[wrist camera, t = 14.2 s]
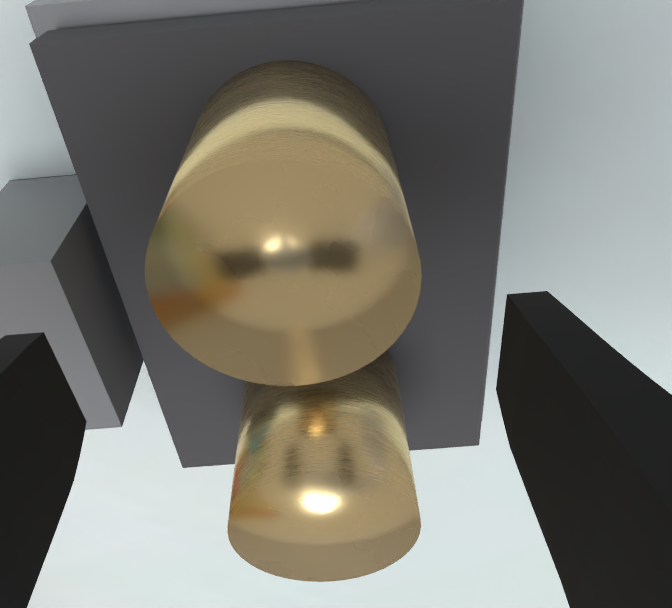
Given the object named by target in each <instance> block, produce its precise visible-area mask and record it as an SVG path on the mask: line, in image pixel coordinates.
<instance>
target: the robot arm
mask: <svg viewBox="0 0 672 608" xmlns="http://www.w3.org/2000/svg"><path fill="white" fill-rule="evenodd" d="M496 391H497V395H498V400H499V404H500V408H501V413H502V417H503V421H504V425H505V429H506V433H507V437H508V441H509V445H510V448H511V451H512V454H513V456H514V459H515V462H516V464H517V467H518V470H519V472H520V475H521V478H522V480H523V483H524V486H525V488H526V491H527V494H528V496H529V499H530V501H531V504H532V507H533V509H534V512H535V514H536V517H537V520H538V522H539V525H540V527H541V530H542V533H543V535H544V538H545V541H546V543H547V546H548V548H549V551H550V554H551V556H552V559H553V561H554V564H555V567H556V569H557V572H558V574H559V577H560V580H561V583H562V586H563V589H564V592H565V594H566V597H567V600H568V603H569V606H570V608H672V395H671V394H670V393H668V392H667V391H666V390H665V389H663V388H662V387H661V386H659V385H658V384H657V383H655V382H654V381H653V380H652V379H650V378H649V377H648V376H647V375H645V374H644V373H643V372H642V371H640V370H639V369H638V368H637V367H636V366H634V365H633V364H632V363H631V362H629V361H628V360H627V359H626V358H625V357H623V356H622V355H621V354H620V353H619V352H617V351H616V350H615V349H614V348H613V347H611V346H610V345H609V344H608V343H607V342H606V341H604V340H603V339H602V338H601V337H600V336H599V335H597V334H596V333H595V332H594V331H593V330H592V329H590V328H589V327H588V326H587V325H586V324H585V323H583V322H582V321H581V320H580V319H579V318H578V317H577V316H575V315H574V314H573V313H572V312H571V311H570V310H569V309H567V308H566V307H565V306H564V305H563V304H562V303H561V302H559V301H558V300H557V299H556V298H555V297H553V296H552V295H551V294H550V293H549V292H547V291H543V292H531V293H519V294H507V299H506V308H505V317H504V325H503V334H502V343H501V351H500V360H499V369H498V378H497V386H496ZM86 422H87V421H86V419H85V417H84V415H83V413H82V411H81V409H80V407H79V405H78V402H77V400H76V398H75V396H74V394H73V392H72V390H71V388H70V386H69V384H68V382H67V379H66V377H65V375H64V373H63V371H62V369H61V367H60V365H59V363H58V361H57V359H56V356H55V354H54V352H53V350H52V348H51V346H50V344H49V342H48V340H47V338H46V336H45V333H44V332H40V333H27V334H15V335H5V336H4V337H2V338H1V339H0V608H27V605H28V603H29V600H30V597H31V595H32V592H33V589H34V587H35V584H36V581H37V579H38V576H39V573H40V571H41V568H42V566H43V563H44V560H45V558H46V555H47V552H48V550H49V547H50V544H51V542H52V539H53V536H54V534H55V531H56V528H57V526H58V523H59V520H60V517H61V515H62V512H63V509H64V506H65V504H66V501H67V498H68V495H69V493H70V490H71V487H72V484H73V481H74V477H75V473H76V469H77V465H78V461H79V457H80V452H81V447H82V442H83V437H84V432H85V427H86Z"/></svg>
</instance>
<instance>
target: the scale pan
mask: <svg viewBox="0 0 672 608" xmlns="http://www.w3.org/2000/svg"><path fill="white" fill-rule="evenodd" d="M522 4H523V0H376V1H365V2H354V3H343V4H332V5H321V6H311V7H300V8H289V9H278V10H267V11H256V12H245V13H234V14H223V15H212V16H201V17H190V18H179V19H169V20H158V21H147V22H136V23H125V24H114V25H103V26H92V27H81V28H70V29H59V30H48V31H46V32H45V33H44V34H42V35H41V36H39V37H38V38H37V39H35V40H34V41H32V42H31V43H30V47H31V50H32V53H33V55H34V58H35V61H36V64H37V67H38V69H39V72H40V75H41V78H42V80H43V83H44V86H45V89H46V91H47V94H48V97H49V100H50V102H51V105H52V108H53V111H54V113H55V116H56V119H57V122H58V124H59V127H60V130H61V133H62V136H63V138H64V141H65V144H66V147H67V149H68V152H69V155H70V158H71V160H72V163H73V166H74V169H75V171H76V174H77V177H78V180H79V182H80V185H81V188H82V191H83V194H84V196H85V199H86V202H87V205H88V207H89V210H90V213H91V216H92V218H93V221H94V224H95V227H96V229H97V232H98V235H99V238H100V240H101V243H102V246H103V249H104V251H105V254H106V257H107V260H108V263H109V265H110V268H111V271H112V274H113V276H114V279H115V282H116V285H117V287H118V290H119V293H120V296H121V298H122V301H123V304H124V307H125V309H126V312H127V315H128V318H129V321H130V323H131V326H132V329H133V332H134V334H135V337H136V340H137V343H138V345H139V348H140V351H141V354H142V356H143V359H144V362H145V365H146V367H147V370H148V373H149V376H150V378H151V381H152V384H153V387H154V390H155V392H156V395H157V398H158V401H159V403H160V406H161V409H162V412H163V414H164V417H165V420H166V423H167V425H168V428H169V431H170V434H171V436H172V439H173V442H174V445H175V447H176V450H177V453H178V456H179V459H180V461H181V464H182V467H183V468H187V467H200V466H213V465H226V464H235V459H236V450H237V442H238V433H239V424H240V416H241V407H242V398H243V390H244V381H245V380H241V379H237V378H234V377H232V376H229V375H226V374H223V373H221V372H219V371H217V370H215V369H213V368H211V367H209V366H207V365H205V364H204V363H202V362H200V361H199V360H197V359H196V358H194V357H193V356H192V355H190V354H189V353H188V352H187V351H185V350H184V349H183V348H182V347H181V346H180V345H179V344H178V343H177V342H176V341H175V340H174V339H173V338H172V337H171V336H170V335H169V333H168V332H167V331H166V330H165V328H164V327H163V326H162V324H161V322H160V321H159V319H158V317H157V315H156V314H155V312H154V309H153V307H152V304H151V302H150V300H149V296H148V292H147V288H146V282H145V258H146V251H147V248H148V244H149V240H150V237H151V234H152V232H153V230H154V227H155V225H156V222H157V220H158V217H159V215H160V212H161V210H162V207H163V205H164V202H165V200H166V197H167V195H168V192H169V190H170V188H171V185H172V183H173V180H174V178H175V175H176V173H177V170H178V168H179V165H180V163H181V160H182V158H183V155H184V153H185V150H186V148H187V146H188V143H189V141H190V138H191V136H192V133H193V131H194V128H195V126H196V123H197V121H198V119H199V116H200V114H201V112H202V110H203V108H204V106H205V105H206V103H207V102H208V100H209V99H210V97H211V96H212V95H213V94H214V93H215V91H216V90H217V89H218V88H219V87H220V86H222V85H223V84H224V83H225V82H226V81H227V80H229V79H230V78H232V77H233V76H235V75H236V74H238V73H239V72H242V71H244V70H246V69H248V68H250V67H253V66H256V65H259V64H263V63H267V62H273V61H281V60H296V61H304V62H310V63H314V64H318V65H322V66H324V67H326V68H329V69H331V70H334V71H336V72H338V73H339V74H341V75H343V76H345V77H346V78H348V79H349V80H350V81H352V82H353V83H354V84H356V85H357V86H358V87H359V88H360V89H361V90H362V91H363V92H364V93H365V94H366V95H367V96H368V98H369V99H370V100H371V102H372V103H373V104H374V105H375V107H376V109H377V111H378V112H379V114H380V116H381V118H382V120H383V123H384V126H385V128H386V131H387V135H388V139H389V143H390V146H391V150H392V154H393V158H394V161H395V165H396V169H397V173H398V176H399V180H400V184H401V188H402V192H403V195H404V199H405V203H406V207H407V210H408V214H409V218H410V222H411V226H412V229H413V233H414V237H415V241H416V244H417V248H418V253H419V257H420V261H421V274H422V279H421V290H420V295H419V299H418V303H417V306H416V309H415V311H414V313H413V316H412V318H411V320H410V322H409V323H408V325H407V327H406V328H405V330H404V331H403V333H402V334H401V335H400V336H399V338H398V339H397V340H396V341H395V343H394V344H392V345H391V346H390V347H389V348H388V349H387V351H388V352H389V354H390V355H391V357H392V359H393V361H394V364H395V367H396V373H397V379H398V385H399V391H400V397H401V403H402V409H403V416H404V422H405V428H406V434H407V440H408V446H409V450H422V449H435V448H448V447H462V446H475V445H479V439H480V429H481V419H482V409H483V399H484V389H485V379H486V369H487V359H488V348H489V338H490V328H491V318H492V308H493V298H494V288H495V278H496V268H497V257H498V247H499V237H500V227H501V217H502V207H503V197H504V187H505V176H506V166H507V156H508V146H509V136H510V126H511V116H512V106H513V96H514V85H515V75H516V65H517V55H518V45H519V35H520V25H521V15H522Z"/></svg>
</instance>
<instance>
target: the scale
mask: <svg viewBox="0 0 672 608" xmlns="http://www.w3.org/2000/svg"><path fill="white" fill-rule="evenodd" d="M365 1H376V0H35V1H33V2H32V3H30V4H28V5H26V6H25V7H26V10H27V13H28V16H29V19H30V21H31V24H32V27H33V30H34V33H35V36H36V38H38V37H39V36H41V35H42V34H44V33H45V32H46V31H48V30H59V29H70V28H81V27H92V26H103V25H114V24H125V23H136V22H147V21H158V20H169V19H179V18H190V17H201V16H212V15H223V14H234V13H245V12H256V11H267V10H278V9H289V8H300V7H311V6H321V5H332V4H343V3H354V2H365ZM523 4H524V0H523ZM523 4H522V14H523ZM521 24H522V15H521ZM520 34H521V25H520ZM519 44H520V35H519ZM518 54H519V45H518ZM517 64H518V55H517ZM516 74H517V65H516ZM515 85H516V75H515ZM515 85H514V95H515ZM513 105H514V96H513ZM512 115H513V106H512ZM511 125H512V116H511ZM510 135H511V126H510ZM509 145H510V136H509ZM508 155H509V146H508ZM507 165H508V156H507ZM506 175H507V166H506ZM505 185H506V176H505ZM504 195H505V187H504ZM503 205H504V197H503ZM502 215H503V207H502ZM501 225H502V217H501ZM500 235H501V227H500ZM499 245H500V237H499ZM498 255H499V247H498ZM497 265H498V257H497ZM496 275H497V268H496ZM495 285H496V278H495ZM494 295H495V288H494ZM493 305H494V298H493ZM492 315H493V308H492ZM491 325H492V318H491ZM40 332H44V333H45V336H46V338H47V340H48V342H49V344H50V346H51V348H52V350H53V352H54V354H55V356H56V359H57V361H58V363H59V365H60V367H61V369H62V371H63V373H64V375H65V377H66V379H67V382H68V384H69V386H70V388H71V390H72V392H73V394H74V396H75V398H76V400H77V402H78V405H79V407H80V409H81V411H82V413H83V415H84V417H85V419H86V421H87V422H86V427H85V430H88V429H100V428H113V427H122V425H123V422H124V419H125V416H126V412H127V409H128V406H129V403H130V400H131V397H132V394H133V391H134V388H135V385H136V382H137V379H138V375H139V372H140V369H141V366H142V363H143V360H144V359H143V356H142V354H141V351H140V348H139V345H138V343H137V340H136V337H135V334H134V332H133V329H132V326H131V323H130V321H129V318H128V315H127V312H126V309H125V307H124V304H123V301H122V298H121V296H120V293H119V290H118V287H117V285H116V282H115V279H114V276H113V274H112V271H111V268H110V265H109V263H108V260H107V257H106V254H105V251H104V249H103V246H102V243H101V240H100V238H99V235H98V232H97V229H96V227H95V224H94V221H93V218H92V216H91V213H90V210H89V207H88V205H87V202H86V199H85V196H84V194H83V191H82V188H81V185H80V182H79V180H78V177H77V175H70V176H58V177H47V178H35V179H23V180H12V181H9V182H8V183H7V184H6V186H5V187H4V188H3V189H2V190H1V191H0V339H1V338H2V337H4V336H5V335H15V334H27V333H40ZM490 335H491V328H490ZM489 345H490V338H489ZM488 355H489V348H488ZM487 365H488V359H487ZM486 375H487V369H486ZM485 385H486V379H485ZM484 395H485V389H484ZM483 405H484V399H483ZM482 415H483V409H482ZM481 421H482V419H481Z"/></svg>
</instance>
